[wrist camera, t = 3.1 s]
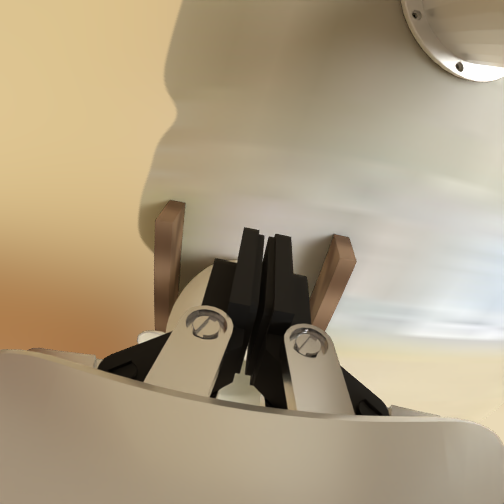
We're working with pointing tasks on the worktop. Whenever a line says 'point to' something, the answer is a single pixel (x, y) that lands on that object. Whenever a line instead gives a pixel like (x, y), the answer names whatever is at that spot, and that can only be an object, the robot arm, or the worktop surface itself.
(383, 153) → the worktop surface
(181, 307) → the pitcher
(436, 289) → the worktop surface
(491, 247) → the worktop surface
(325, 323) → the wooden planks
